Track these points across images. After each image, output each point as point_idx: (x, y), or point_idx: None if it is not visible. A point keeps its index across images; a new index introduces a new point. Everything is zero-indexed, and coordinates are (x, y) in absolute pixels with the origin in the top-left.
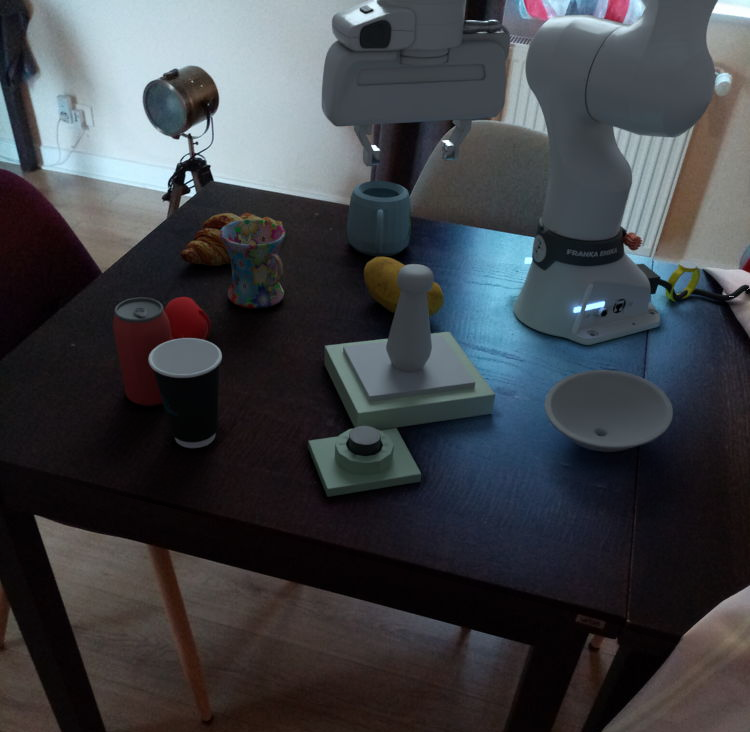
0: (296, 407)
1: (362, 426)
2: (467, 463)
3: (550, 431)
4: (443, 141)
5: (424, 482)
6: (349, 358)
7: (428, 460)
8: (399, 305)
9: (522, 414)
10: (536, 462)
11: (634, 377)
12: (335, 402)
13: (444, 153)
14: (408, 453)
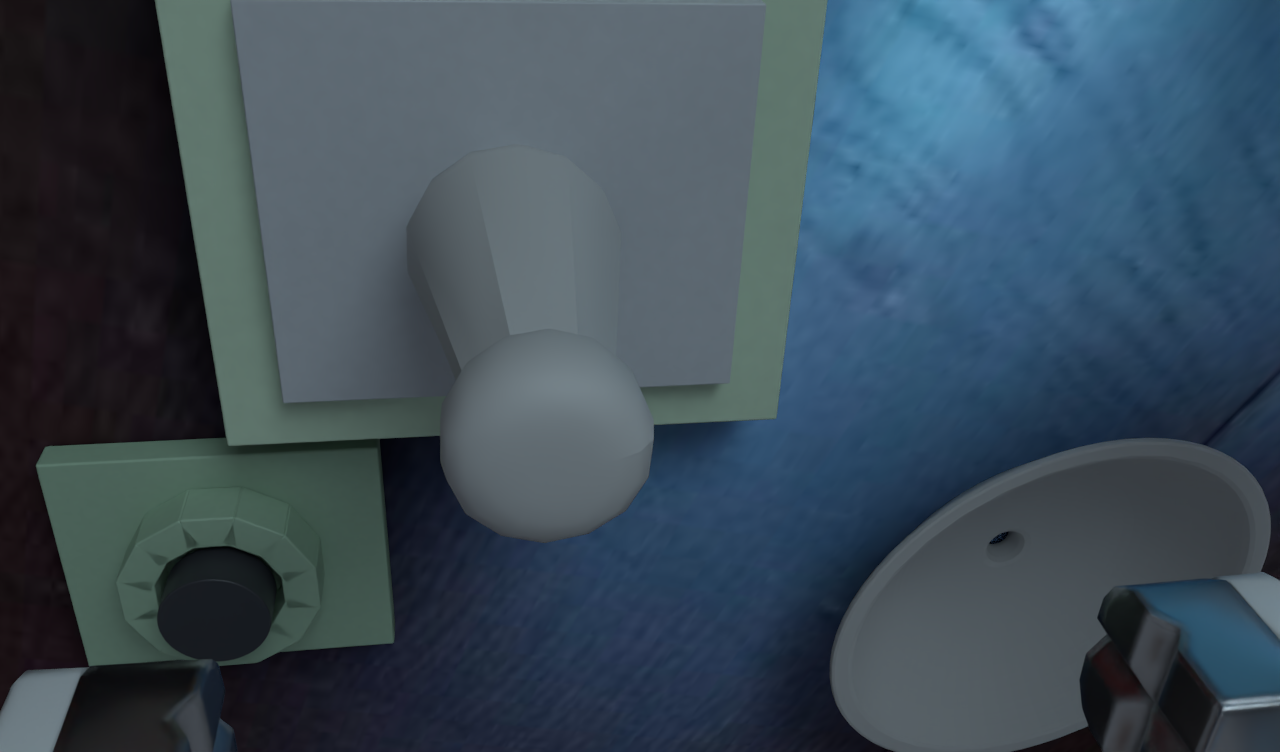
0: (3, 205)
1: (213, 584)
2: (562, 572)
3: (884, 481)
4: (1219, 732)
5: (406, 623)
6: (245, 116)
7: (449, 546)
8: (454, 362)
9: (852, 392)
10: (760, 592)
11: (1245, 498)
12: (181, 203)
13: (1134, 677)
14: (380, 565)
